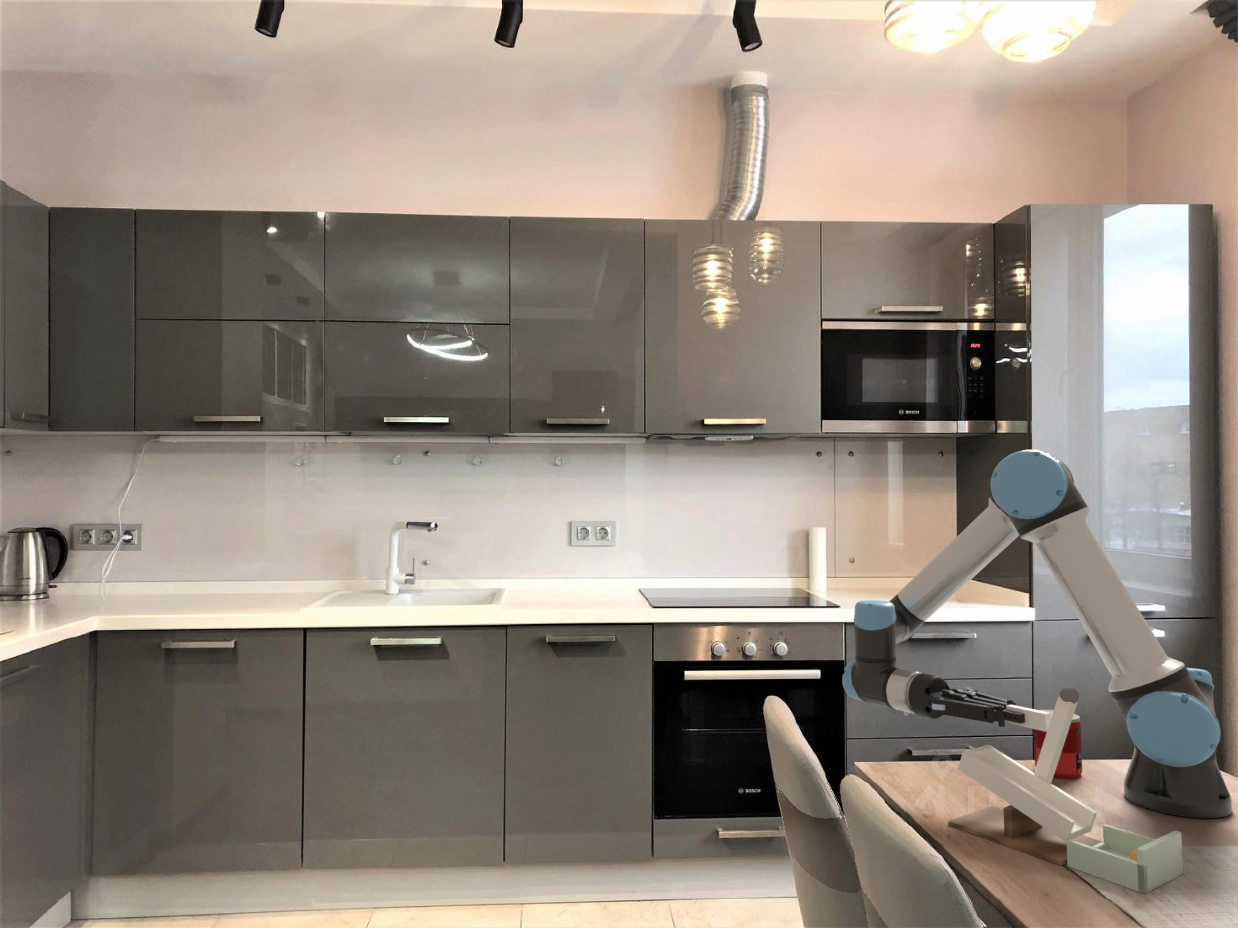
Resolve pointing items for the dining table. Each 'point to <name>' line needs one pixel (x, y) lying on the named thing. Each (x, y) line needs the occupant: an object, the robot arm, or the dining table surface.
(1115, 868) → the tray
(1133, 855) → the ball
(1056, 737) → the seesaw
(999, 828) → the stand
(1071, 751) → the canned food
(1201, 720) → the robot arm
